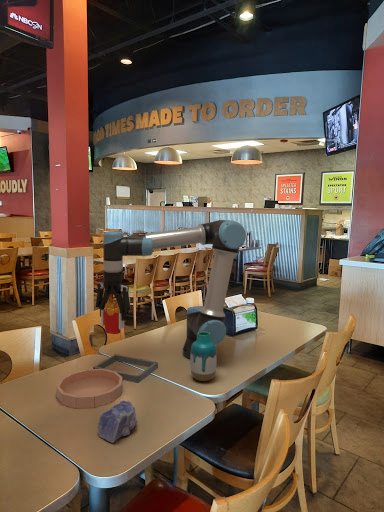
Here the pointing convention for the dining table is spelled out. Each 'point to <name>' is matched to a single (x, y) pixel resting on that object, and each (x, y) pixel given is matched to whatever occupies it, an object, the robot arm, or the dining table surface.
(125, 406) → the mineral
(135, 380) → the gray square frame
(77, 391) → the bowl
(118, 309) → the french fries
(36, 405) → the dining table surface
